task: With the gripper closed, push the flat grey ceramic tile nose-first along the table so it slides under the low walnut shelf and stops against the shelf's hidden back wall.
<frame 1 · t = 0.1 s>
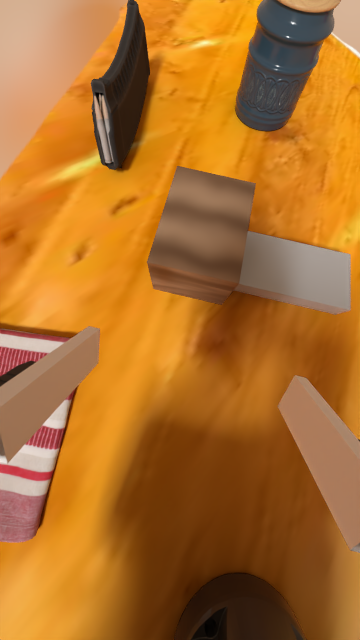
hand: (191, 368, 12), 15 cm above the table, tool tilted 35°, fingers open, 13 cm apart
magazine: (131, 127, 39), on the table
tile: (283, 277, 32), on the table
canister: (261, 113, 42), on the table
dish towel: (9, 416, 25), on the table
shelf: (201, 256, 32), on the table
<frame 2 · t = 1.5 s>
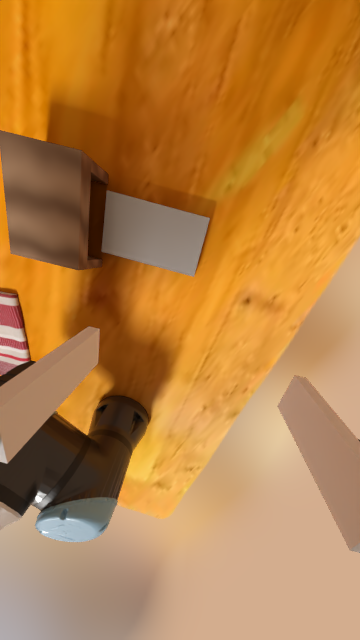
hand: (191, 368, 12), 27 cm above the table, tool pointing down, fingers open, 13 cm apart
tile: (156, 237, 35), on the table
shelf: (79, 218, 35), on the table
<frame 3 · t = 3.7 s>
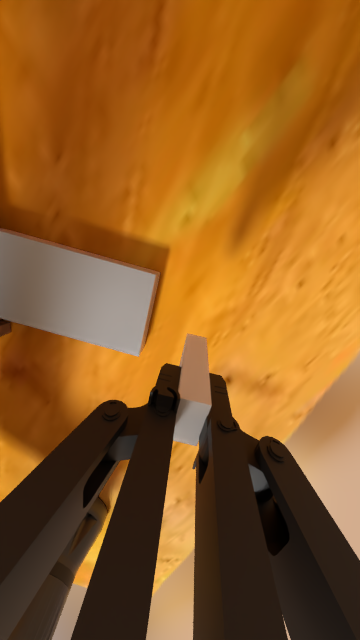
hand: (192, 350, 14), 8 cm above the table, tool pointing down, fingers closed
tile: (83, 292, 23), on the table
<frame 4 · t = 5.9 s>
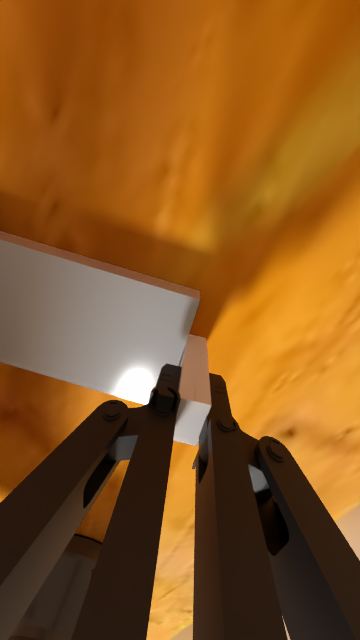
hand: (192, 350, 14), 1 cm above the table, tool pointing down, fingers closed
tile: (85, 314, 16), on the table, touching gripper
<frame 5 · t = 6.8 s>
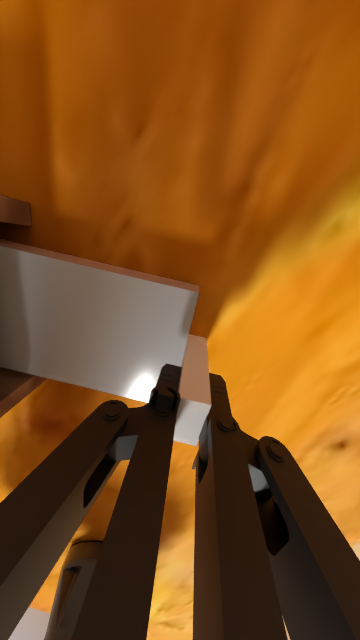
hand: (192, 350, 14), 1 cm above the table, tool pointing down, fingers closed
tile: (87, 316, 16), on the table, touching gripper
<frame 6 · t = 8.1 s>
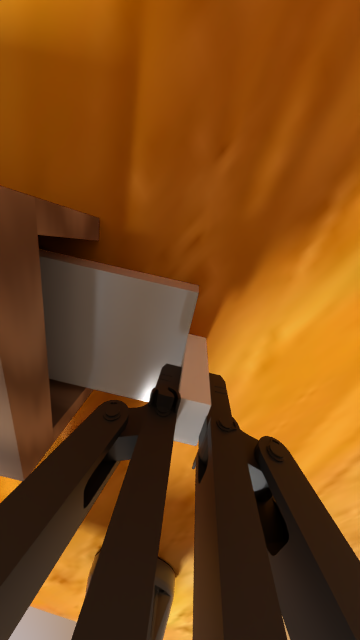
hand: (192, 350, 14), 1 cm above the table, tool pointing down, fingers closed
tile: (87, 316, 16), on the table, touching gripper, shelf
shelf: (40, 307, 16), on the table
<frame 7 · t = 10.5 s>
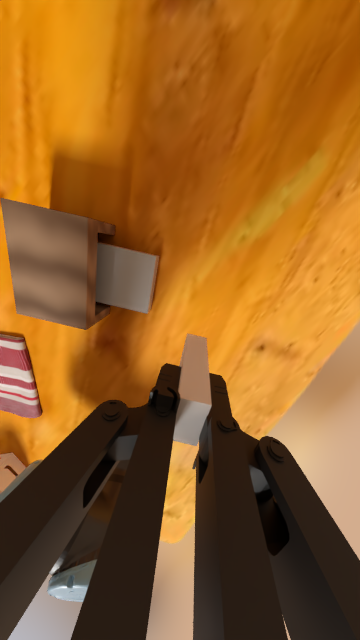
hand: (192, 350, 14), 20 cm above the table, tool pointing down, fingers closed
tile: (108, 272, 34), on the table
dish towel: (6, 372, 46), on the table
grater: (10, 464, 60), on the table
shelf: (85, 267, 33), on the table
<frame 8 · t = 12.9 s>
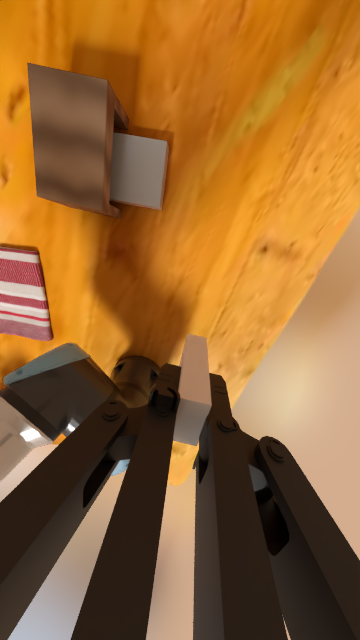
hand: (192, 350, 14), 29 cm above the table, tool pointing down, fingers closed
tile: (121, 174, 36), on the table
dish towel: (19, 294, 48), on the table
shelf: (99, 167, 35), on the table
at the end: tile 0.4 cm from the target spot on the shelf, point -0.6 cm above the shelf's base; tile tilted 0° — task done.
